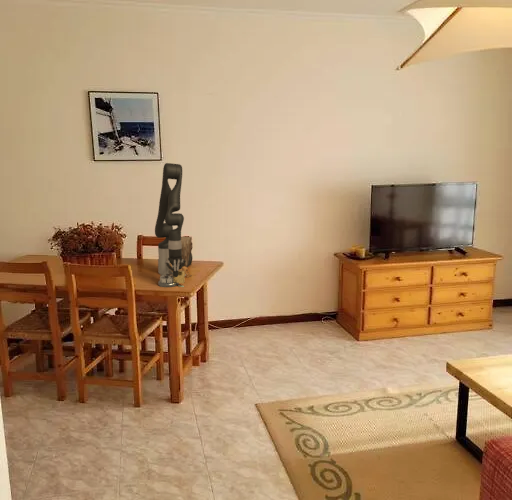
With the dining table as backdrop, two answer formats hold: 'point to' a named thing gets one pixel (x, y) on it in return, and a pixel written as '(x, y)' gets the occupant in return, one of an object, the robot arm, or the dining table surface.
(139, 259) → the dining table surface
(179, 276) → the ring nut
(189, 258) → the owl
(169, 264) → the lion figurine
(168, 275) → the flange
